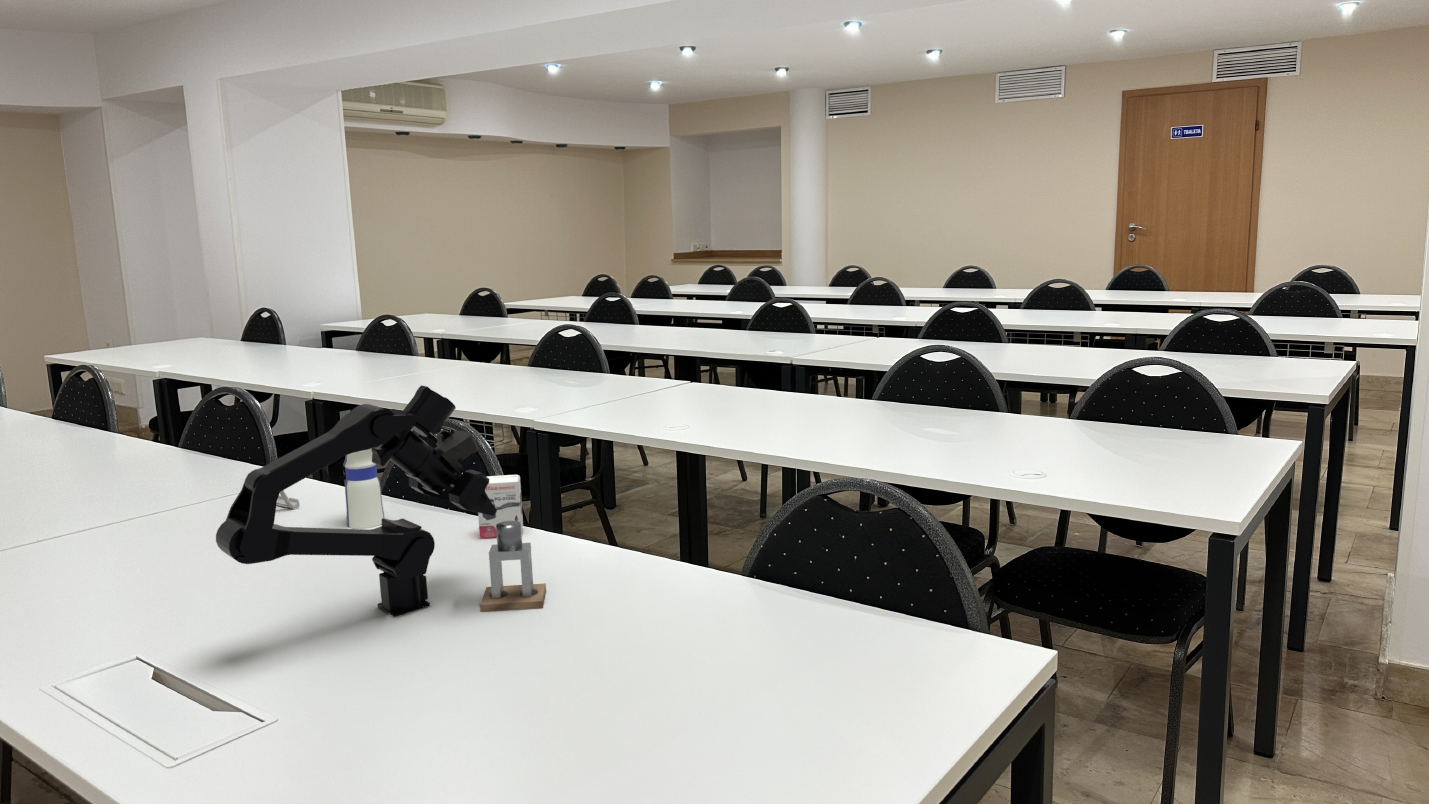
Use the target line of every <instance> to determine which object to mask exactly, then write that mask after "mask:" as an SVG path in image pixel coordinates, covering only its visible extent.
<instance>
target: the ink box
mask: <svg viewBox="0 0 1429 804" xmlns="http://www.w3.org/2000/svg"><path fill="white" fill-rule="evenodd" d="M486 477H487V478H489V483H488V485H487V487H486V488H485V492H486V494H487V496H488V497H489V499H490V500H491V502H492V504H493V505H494V507H495V508H496V510H497V512H496V514H495V515H494V516H491V515H487V514H482V513H478V512H477V515H478V517H477V518H478V529H479V530H478V531H479V532H478V533H479V539H480V538H484V539H495V538H494V537H497V532H496V524H498V523H500V522H504V521H519V522H520V523H521V534H522V535H523V532H524V519H523V504H522V503H523V502H522V489H521V488H522V486H521V476H520V475H518V474H507V475H492V476H491V475H489V476H486ZM522 527H523V528H522Z"/></svg>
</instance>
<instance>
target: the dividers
mask: <svg viewBox="0 0 1429 804" xmlns="http://www.w3.org/2000/svg"><path fill="white" fill-rule="evenodd" d="M496 532H497V538H496V543H497V544H491V546H490V549H489V551H488V560H489V562H488V563H489V576H490V587H491V591H492V599H498V598H501V596H502V592H503V586H504V578H503V564H502V561H517V560H519V561H520V575H521V585H522V593H523V597H531V596H532V591H533V584H534V579H533V578H534V576H533V575H534V574H533V562H532V561H533V560H532V545H531V542H523V538H522V537H523V533H522V534H521V523H520V522H519V521H504V522H500V523H498V524H496Z"/></svg>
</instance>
